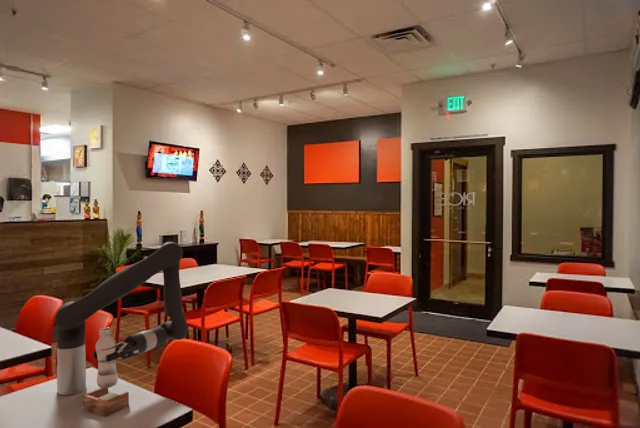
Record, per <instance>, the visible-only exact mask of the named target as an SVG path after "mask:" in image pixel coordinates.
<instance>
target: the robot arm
mask: <svg viewBox="0 0 640 428" xmlns="http://www.w3.org/2000/svg"><path fill="white" fill-rule="evenodd" d="M183 255H184V251H183V248H182V247H181V246H180V244H179V243H178V242H176V241H175V242H174V241H167V242H164V243H163V244H161V246H160V247H159V248H158V249H157V250H155V251H154V252H153V253H151V254H150V255H149V256H147V257H145V258H144V259H142V260H140V261H138V262H136V263H133V264H131V265H129V266H127V267H124V268H122V269H121V270H119V271H118V272H116V273H115V274H113V275H111V276H109V277H108V278H106V279H105V280H104V281H102V282H101V283H100V284H99V285H98V286H97V287H95V288H94V289H93V290H91V291H90V292H89V293H87V294H86V295H85V296H83V297H81V298H80V299H76V301H71V300H70V301H68V302H65V303H63V304H62V305H60V307H59V308H58V310H57V311H56V313H55V315H54V323H55V325H56V327H57V336H56V337H57V338H56V355H57V356H56V357H57V359H56V360H57V365H56V386H57V388H56V389H57V394H58V395H60V396H73V395H76V394H80V393H82V392H85V390H86V389H87V366H86V365H87V364H86V361H87V360H86V320H88V319H89V318H90V317H91V316H93V315H94V314H96V313H97V312H99V311H101V310H102V309H104V308H105V307H106V308H107V307H108V306H110V305H112V304H113V303H115V302H117V301H119V300H120V299H122V298H124V297H125V296H127V295H129V293H132V292H133V291H135V290H136V289H137V288H139V287H140V286H142V285H143V284H144V283H146V282H147V281H149V280H150V279H152V277H153V276H155V275H156V274H158V273H160V272H162V274H163V306H164V307H163V309H164V310H163V311H164V315H165V316H167V317H168V318H170V320H168V321H166V322H165V321H164V322H163V323H161V324H159V325H158V326H156V327H154V328H150V329H147V330H143V331H140V332H139V331H138V332H137V333H133V334H130V335H128V336H127V337H125V339H124V341H123V342H122V341H121V342H117V343H116V351H115V352H114V353H111V354H109V355H106V362H110V361H112V360H115V361H116V360H117V359H118V360H120V359H122V360H126V359H128V358H131V357H135V356H138V355H141V354H143V353H145V352H149V351H150V350H153V348H156V347H159V346H161V345H163V344H165V343H166V342H167V341H168V340H178V341H179V340H183V339H185V337H186V336H187V335H188V329H189V328H188V327H189V326H188V323H187V320H186V315H185V312H184V309H183V295H182V293H183V292H182V288H181V281H180V279H181V278H180V265H181V260H182V258H183ZM92 358H93V359H96V360H97V359H98V358H97V353H96V351H94V352H92Z"/></svg>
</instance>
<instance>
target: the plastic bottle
mask: <svg viewBox="0 0 640 428" xmlns="http://www.w3.org/2000/svg"><path fill="white" fill-rule="evenodd" d="M98 333H99V334H98V336H99V338H98V340H97V341H96V343H95V346H94V347H95V352H96V353H97V358H96V359H97V376H96V383H97V386H98V388H108V389H109V388H112V387H114V386H116V385H117V383H118V381H119V375H118V374H119V373H118V372H117V365H116V359H115V360H112V361H110V362H106V355H109V354H111V353H114V352H115V351H116V344H117V341H116V340H115V337H113V336H112V334H113V333H112V328H111V327H105V328H104V327H103V328H100V329H99V332H98Z"/></svg>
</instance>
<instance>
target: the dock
mask: <svg viewBox="0 0 640 428" xmlns="http://www.w3.org/2000/svg"><path fill="white" fill-rule="evenodd" d="M127 407H130V397H129V391H124V392H122V393H120V394H118V393H115V392H111V391H109V388H100V387H98V388H97V389H96V388H95V389H94V390H92V391H90V392H87V393H85V394H83V395H82V410H83V411H85V412H88V413H92V414H95V415H98V416H100V417H103V418H107V417H109V416H112V415H113V414H116V413H118V412H120V411H122V410H124V409H126V408H127Z"/></svg>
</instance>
